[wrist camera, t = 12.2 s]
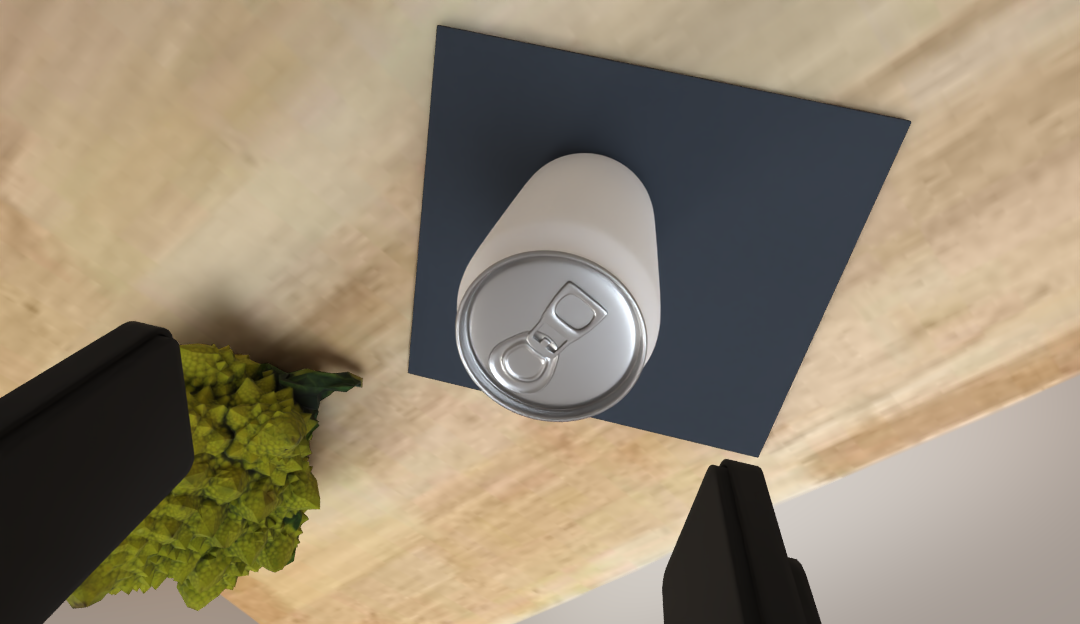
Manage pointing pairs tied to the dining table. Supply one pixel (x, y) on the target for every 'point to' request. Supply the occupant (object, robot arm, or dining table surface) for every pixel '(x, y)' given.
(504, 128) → the mat
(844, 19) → the dining table surface
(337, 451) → the dining table surface
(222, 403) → the vegetable
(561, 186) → the can
